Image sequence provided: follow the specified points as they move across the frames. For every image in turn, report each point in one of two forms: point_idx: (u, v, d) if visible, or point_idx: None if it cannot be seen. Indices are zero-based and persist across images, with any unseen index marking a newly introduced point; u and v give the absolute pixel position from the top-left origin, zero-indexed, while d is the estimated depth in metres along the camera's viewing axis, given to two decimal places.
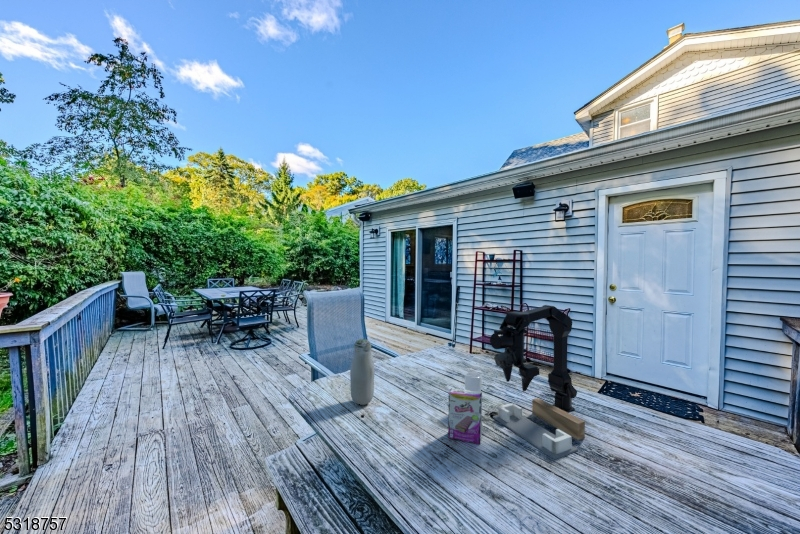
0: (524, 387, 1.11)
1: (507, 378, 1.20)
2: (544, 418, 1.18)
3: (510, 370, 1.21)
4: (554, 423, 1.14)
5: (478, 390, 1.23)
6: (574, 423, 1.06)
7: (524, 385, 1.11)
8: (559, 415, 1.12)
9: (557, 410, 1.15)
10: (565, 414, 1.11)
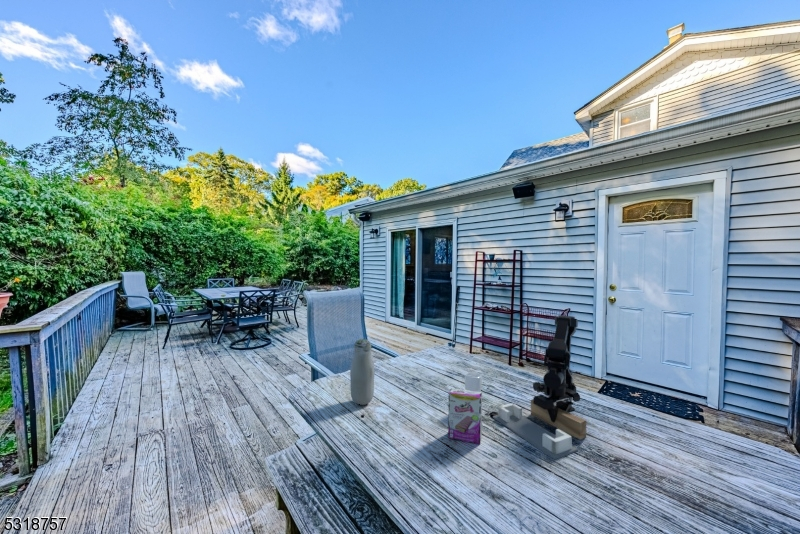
0: (550, 417, 1.14)
1: None
2: (544, 419, 1.18)
3: (564, 410, 1.15)
4: (555, 423, 1.14)
5: (478, 390, 1.23)
6: (576, 423, 1.07)
7: (549, 415, 1.14)
8: (560, 415, 1.12)
9: None
10: (566, 414, 1.11)
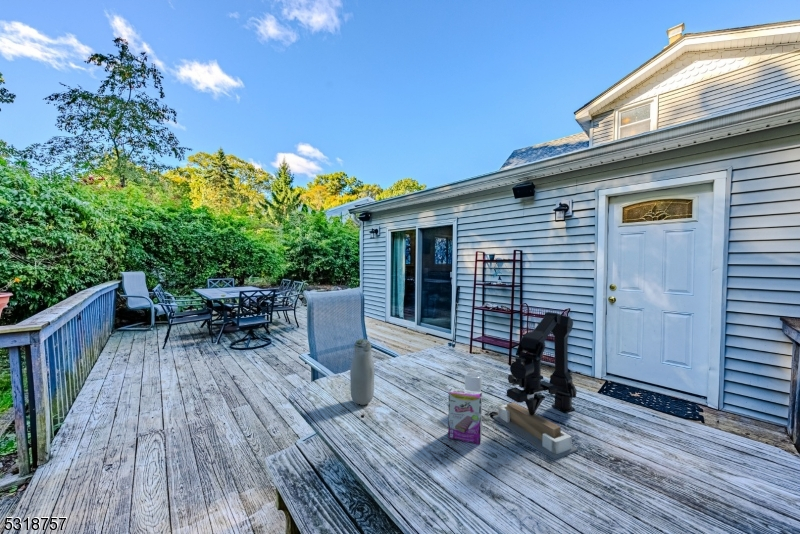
0: (529, 410, 1.10)
1: None
2: (519, 424, 1.12)
3: (535, 404, 1.08)
4: (529, 429, 1.08)
5: (478, 390, 1.23)
6: (549, 429, 1.01)
7: (528, 407, 1.10)
8: (535, 420, 1.06)
9: None
10: (540, 420, 1.06)
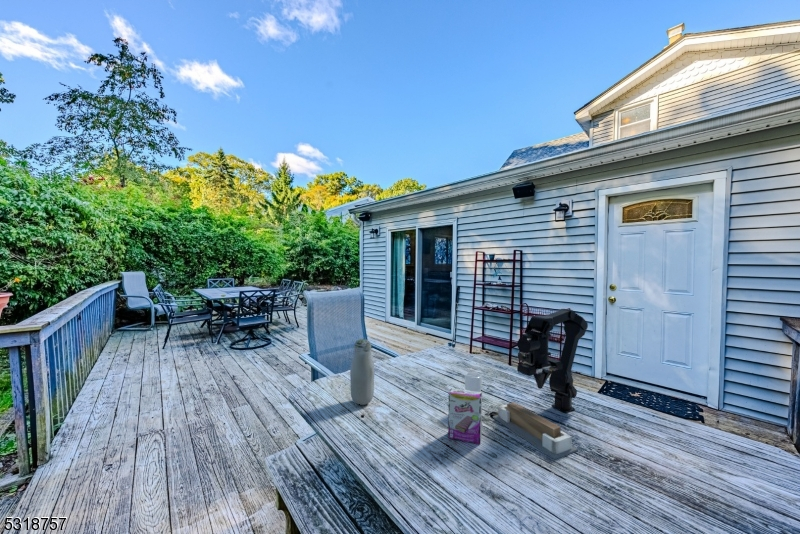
0: (537, 384, 1.19)
1: None
2: (519, 424, 1.12)
3: (543, 378, 1.18)
4: (529, 429, 1.08)
5: (478, 390, 1.23)
6: (549, 429, 1.01)
7: (536, 381, 1.20)
8: (535, 420, 1.06)
9: (533, 414, 1.09)
10: (540, 420, 1.06)
